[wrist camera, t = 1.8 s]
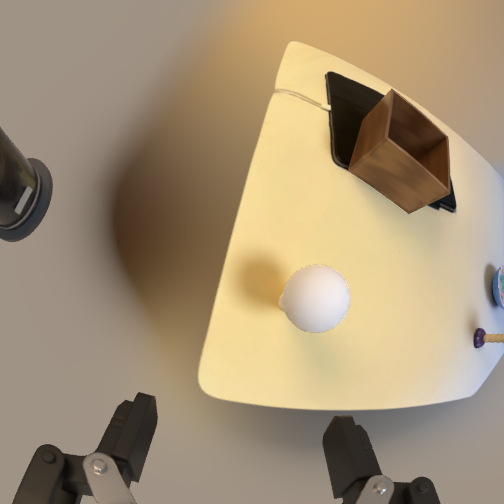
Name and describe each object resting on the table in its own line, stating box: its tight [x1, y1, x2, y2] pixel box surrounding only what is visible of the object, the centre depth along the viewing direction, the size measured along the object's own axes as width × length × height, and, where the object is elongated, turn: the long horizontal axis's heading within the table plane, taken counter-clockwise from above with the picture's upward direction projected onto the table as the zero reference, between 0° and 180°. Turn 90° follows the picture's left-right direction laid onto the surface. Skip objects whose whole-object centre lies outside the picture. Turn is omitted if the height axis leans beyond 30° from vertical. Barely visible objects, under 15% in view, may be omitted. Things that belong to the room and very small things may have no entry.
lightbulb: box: [278, 264, 350, 333], centre depth 26 cm, size 6×6×11 cm
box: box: [348, 89, 450, 214], centre depth 35 cm, size 13×13×10 cm
